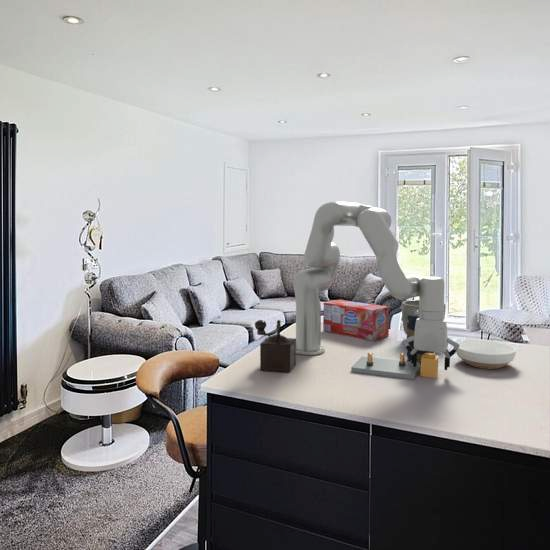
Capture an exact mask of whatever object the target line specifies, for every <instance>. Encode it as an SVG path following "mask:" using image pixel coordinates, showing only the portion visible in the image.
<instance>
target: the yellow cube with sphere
mask: <svg viewBox="0 0 550 550" xmlns="http://www.w3.org/2000/svg"><path fill="white" fill-rule="evenodd" d="M438 373H439V355H436V353H435V352H434V353H424V354H423V355H422V357H421V363H420V377H426V378H434V379H437V377H438Z"/></svg>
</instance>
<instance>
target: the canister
mask: <svg viewBox="0 0 550 550" xmlns="http://www.w3.org/2000/svg"><path fill="white" fill-rule="evenodd" d="M414 313H415V312H414ZM414 313H410V314H408V316H407V335H406V338H409V337H411V336H414V332H415V324H416V320H417V319H418V318H419V316H417V315H415V314H414ZM409 345H410V346H411V347H412V348H414V340H413V341H410V342H409ZM416 353H417V363H420V364H421V357H422V355H423V354H424V353H434V354H435V352H429V351H420V350H417V351H416ZM411 358H412V355H411V353H410V352H409V351H408V350H407V349H406V359H407V360H409V362H411Z"/></svg>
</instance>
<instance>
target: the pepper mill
mask: <svg viewBox="0 0 550 550" xmlns="http://www.w3.org/2000/svg"><path fill="white" fill-rule="evenodd" d="M254 326H255V329H256V330H257V332H256V334H257V335H258V336H268V337H266V338H264V340H263V341H262V342H260V343H259V349H260V350H259V351H260V352H259V353H260V354H259V356H260V361H259V363H260V364H259V365H260V367H259V368H260V369H259V370H260V371H263V372H271V373H272V372H273V373H280V374H281V373H282V374H283V373H284V374H289V373H291V372H292V371H293V369H294V368H295V366H296V364H297V358H296V357H297V354H296V339H295V338H293V337H291V338H290V337H286V336H284V335H281V332H280V331H281V320H280V319H277V320H276V327H275V329H274V331H272V332H269V333H268V332H266V331H265V329H266V328H267V322H266V321H265V320H263V319H259V320H257V321H255V322H254Z"/></svg>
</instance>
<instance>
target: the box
mask: <svg viewBox="0 0 550 550" xmlns="http://www.w3.org/2000/svg"><path fill="white" fill-rule="evenodd" d="M322 315H323V323H322V331H324V332H327V333H331V334H332V333H333V334H337V335H341V336H346V337H347V336H348V337H351V338H356V339H361V340H366V341H369V342H370V341H371V342H373V341H376V340H379V339H383V338H386V337H389V336H390V335H389V333H390V329H389V328H390V324H389V323H390V318H389V317H390V306H387V305H381V304H372V303H366V302H359V301H352V300H344V299H335V300H329V301H324V302H323V314H322Z"/></svg>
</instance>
